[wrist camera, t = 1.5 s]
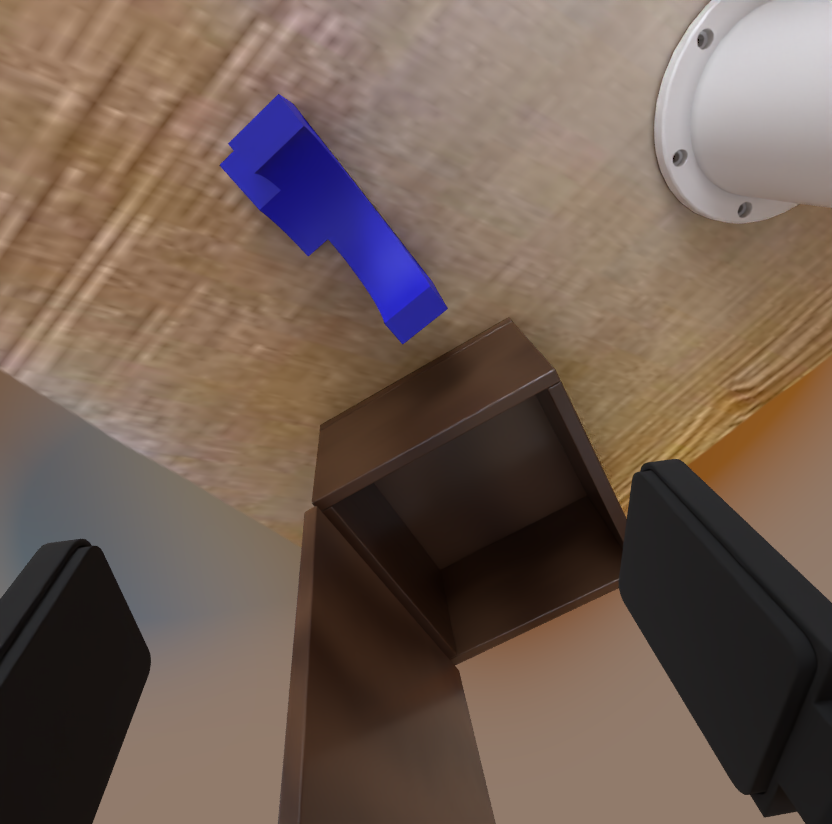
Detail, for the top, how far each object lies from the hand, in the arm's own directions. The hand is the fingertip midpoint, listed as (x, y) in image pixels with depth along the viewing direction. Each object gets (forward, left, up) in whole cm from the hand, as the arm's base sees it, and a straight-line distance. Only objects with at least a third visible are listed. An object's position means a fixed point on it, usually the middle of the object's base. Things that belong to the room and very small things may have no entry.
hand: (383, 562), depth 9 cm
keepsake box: (+1, +16, -25) cm, 30 cm away
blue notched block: (0, -3, -25) cm, 25 cm away
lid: (+8, +16, -8) cm, 19 cm away
